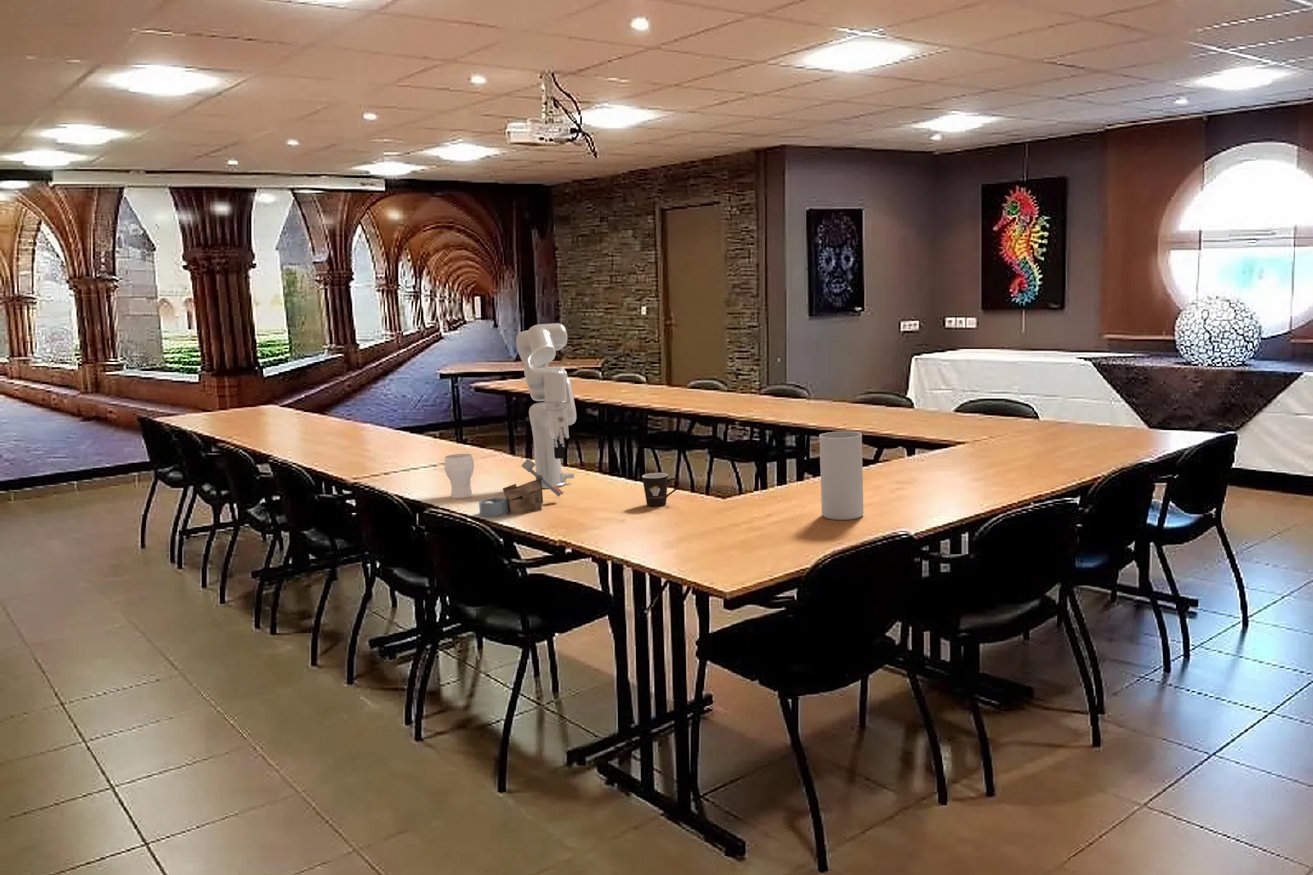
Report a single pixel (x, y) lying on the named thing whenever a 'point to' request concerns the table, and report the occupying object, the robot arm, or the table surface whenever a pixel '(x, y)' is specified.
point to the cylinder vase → (841, 475)
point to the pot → (493, 507)
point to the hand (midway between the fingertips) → (559, 457)
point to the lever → (540, 477)
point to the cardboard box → (524, 497)
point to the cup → (459, 474)
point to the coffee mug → (657, 488)
